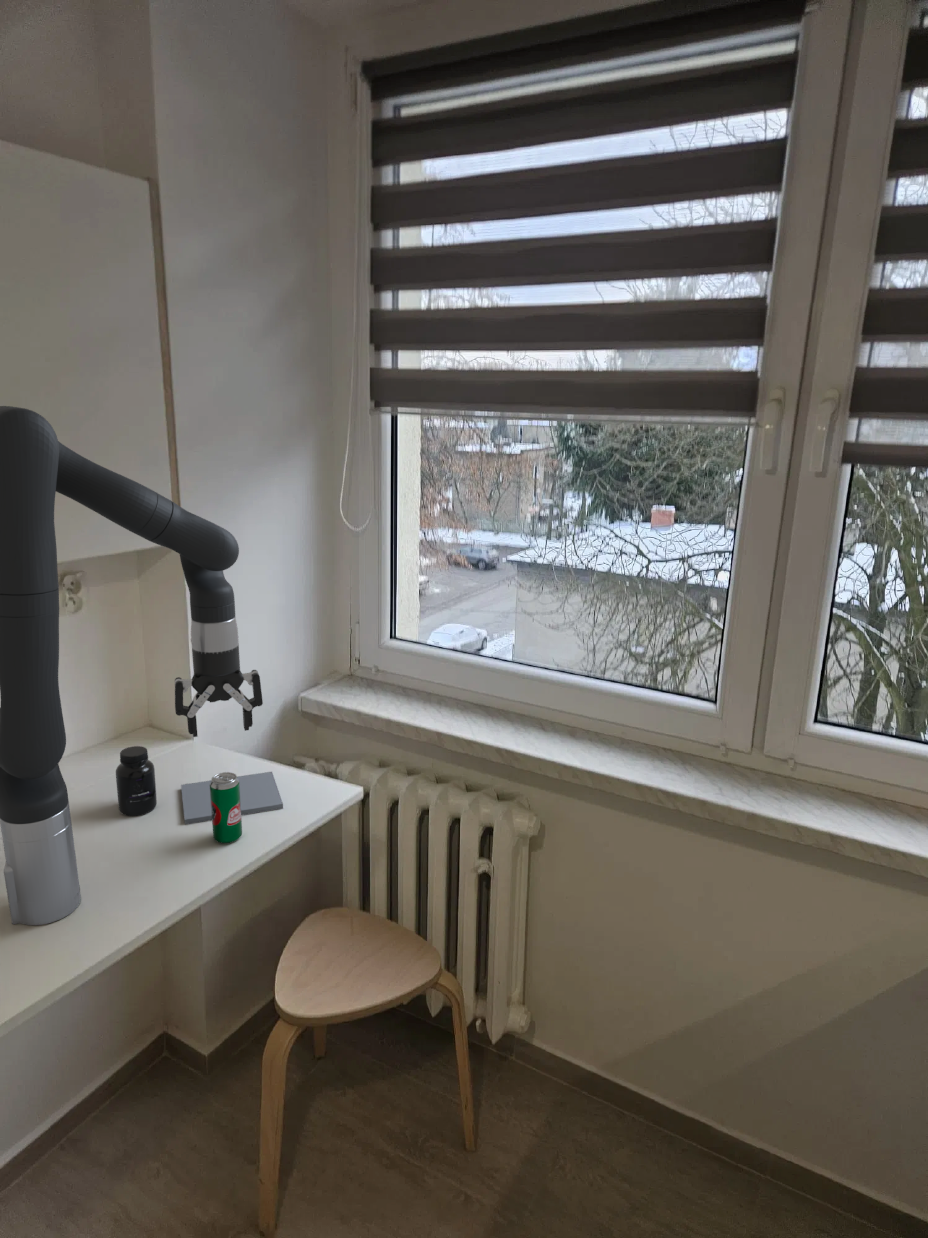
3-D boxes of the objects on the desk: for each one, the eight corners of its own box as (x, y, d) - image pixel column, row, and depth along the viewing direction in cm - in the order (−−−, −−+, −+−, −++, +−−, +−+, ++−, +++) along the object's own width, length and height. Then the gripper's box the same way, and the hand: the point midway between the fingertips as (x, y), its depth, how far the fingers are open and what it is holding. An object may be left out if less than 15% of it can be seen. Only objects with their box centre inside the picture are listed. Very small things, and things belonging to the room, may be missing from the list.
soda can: (234, 847, 139) (230, 786, 135) (208, 843, 140) (203, 782, 136) (247, 832, 143) (244, 773, 140) (222, 828, 144) (218, 769, 141)
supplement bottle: (140, 820, 146) (134, 762, 143) (111, 813, 148) (104, 755, 145) (165, 803, 152) (160, 747, 149) (136, 796, 154) (131, 741, 151)
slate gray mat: (185, 824, 145) (184, 819, 145) (181, 789, 158) (181, 784, 157) (283, 808, 152) (282, 803, 151) (272, 775, 164) (272, 771, 164)
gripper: (170, 654, 125) (178, 747, 130) (261, 646, 130) (266, 735, 135) (169, 640, 132) (176, 728, 136) (255, 633, 137) (260, 718, 141)
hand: (221, 732), depth 135 cm, fingers open, 8 cm apart
